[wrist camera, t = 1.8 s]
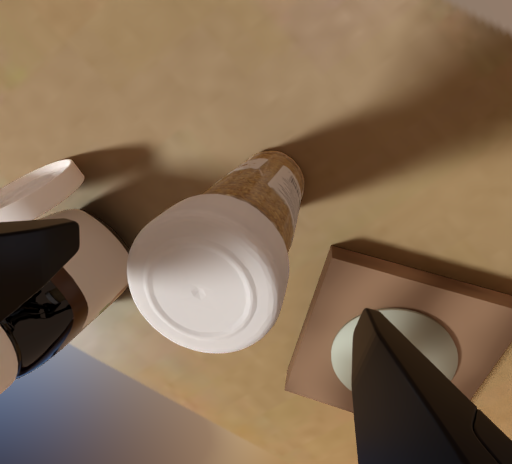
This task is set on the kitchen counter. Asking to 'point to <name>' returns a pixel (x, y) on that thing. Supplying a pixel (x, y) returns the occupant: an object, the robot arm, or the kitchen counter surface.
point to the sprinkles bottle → (220, 257)
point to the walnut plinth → (396, 324)
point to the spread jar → (58, 273)
